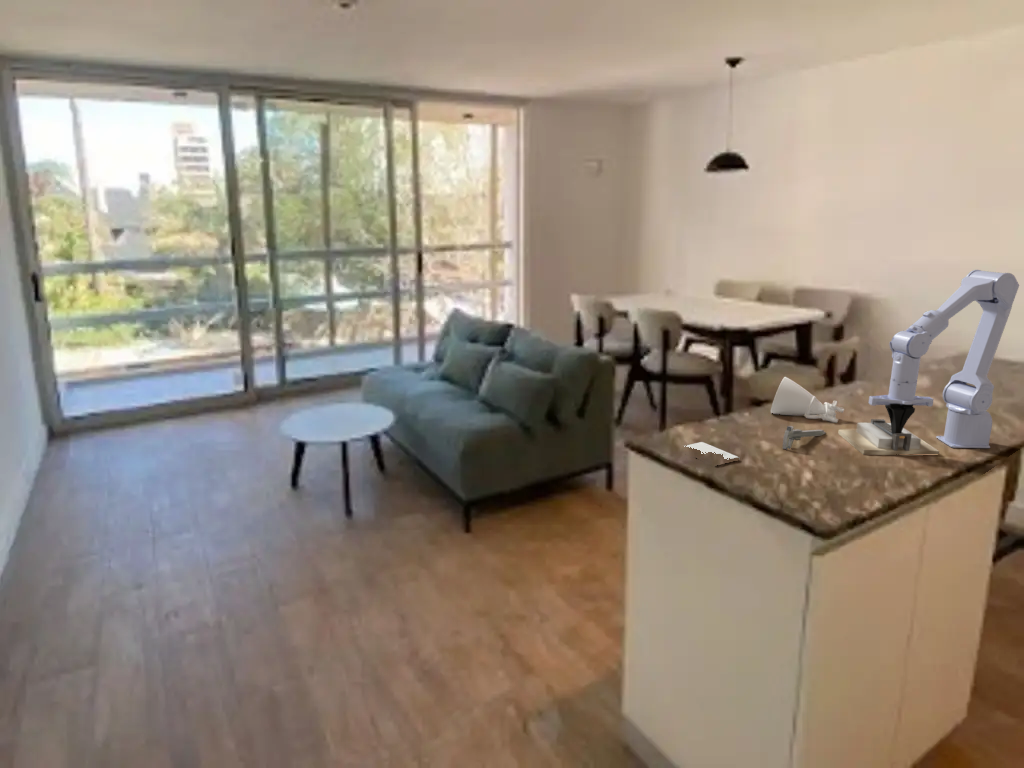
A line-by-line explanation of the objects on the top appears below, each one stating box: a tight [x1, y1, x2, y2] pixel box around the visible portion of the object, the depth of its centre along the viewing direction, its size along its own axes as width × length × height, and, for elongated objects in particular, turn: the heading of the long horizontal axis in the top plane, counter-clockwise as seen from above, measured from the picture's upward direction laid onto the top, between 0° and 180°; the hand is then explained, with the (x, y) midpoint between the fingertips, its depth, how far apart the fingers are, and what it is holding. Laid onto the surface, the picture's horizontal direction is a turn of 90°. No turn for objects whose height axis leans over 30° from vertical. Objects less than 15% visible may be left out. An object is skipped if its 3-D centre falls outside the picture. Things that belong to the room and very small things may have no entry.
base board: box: [837, 418, 940, 456], centre depth 178 cm, size 18×16×6 cm
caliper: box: [782, 425, 826, 450], centre depth 181 cm, size 20×1×6 cm, turn 129°
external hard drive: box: [683, 441, 740, 460], centre depth 172 cm, size 2×8×12 cm
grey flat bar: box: [873, 421, 905, 438], centre depth 177 cm, size 3×13×1 cm, turn 176°
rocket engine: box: [770, 376, 845, 424], centre depth 201 cm, size 12×12×18 cm
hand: (896, 432), depth 174 cm, fingers closed, pressing on grey flat bar
